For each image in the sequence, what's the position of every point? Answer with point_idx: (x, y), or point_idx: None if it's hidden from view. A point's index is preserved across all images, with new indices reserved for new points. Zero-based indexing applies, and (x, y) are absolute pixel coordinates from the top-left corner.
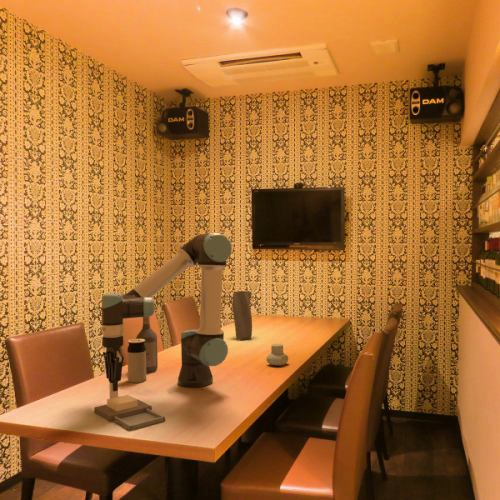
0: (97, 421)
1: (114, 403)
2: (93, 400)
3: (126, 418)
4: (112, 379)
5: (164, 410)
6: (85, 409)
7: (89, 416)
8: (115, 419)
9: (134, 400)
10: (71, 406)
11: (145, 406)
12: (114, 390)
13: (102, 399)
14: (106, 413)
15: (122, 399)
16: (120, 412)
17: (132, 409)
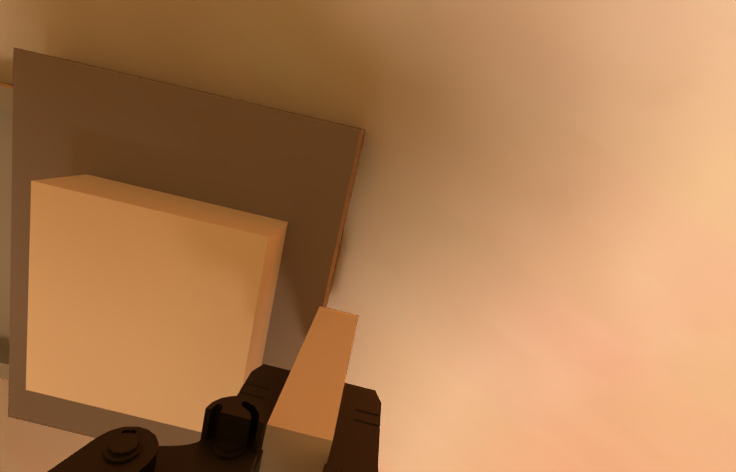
0: (151, 5)
1: (87, 193)
2: (657, 337)
3: (10, 177)
4: (193, 467)
5: (5, 446)
6: (515, 143)
7: (320, 44)
8: (9, 86)
9: (28, 361)
10: (714, 119)
11: None
12: (253, 371)
13: (604, 391)
14: (106, 81)
15: (136, 319)
16: (39, 175)
17: None
